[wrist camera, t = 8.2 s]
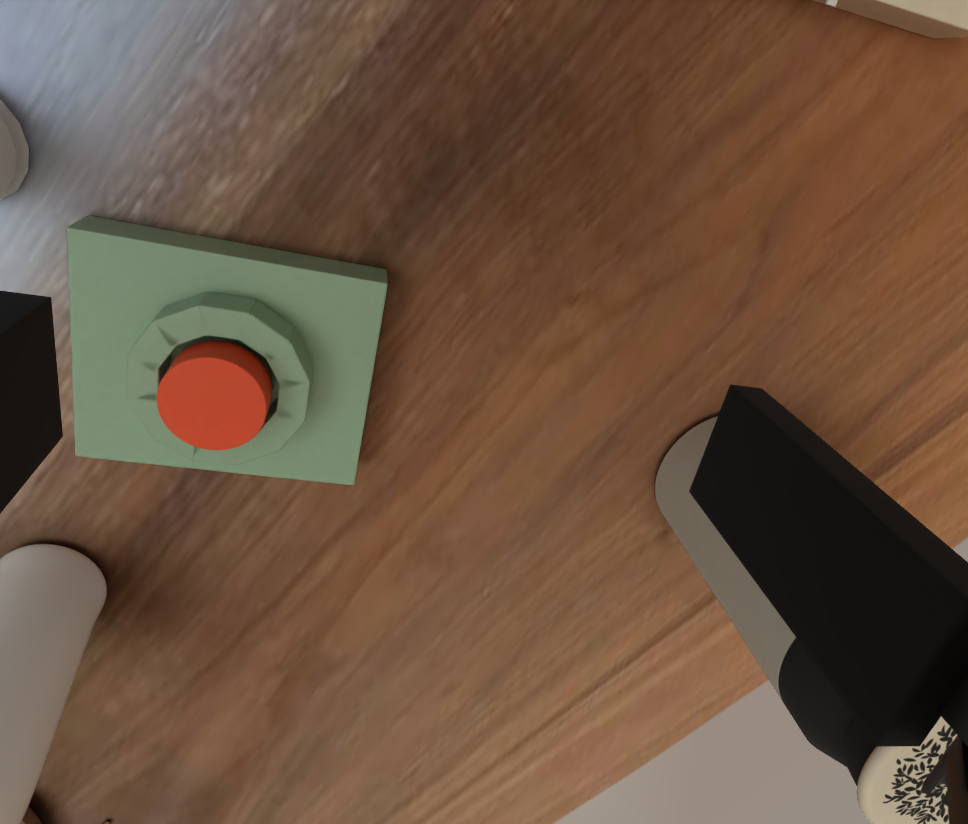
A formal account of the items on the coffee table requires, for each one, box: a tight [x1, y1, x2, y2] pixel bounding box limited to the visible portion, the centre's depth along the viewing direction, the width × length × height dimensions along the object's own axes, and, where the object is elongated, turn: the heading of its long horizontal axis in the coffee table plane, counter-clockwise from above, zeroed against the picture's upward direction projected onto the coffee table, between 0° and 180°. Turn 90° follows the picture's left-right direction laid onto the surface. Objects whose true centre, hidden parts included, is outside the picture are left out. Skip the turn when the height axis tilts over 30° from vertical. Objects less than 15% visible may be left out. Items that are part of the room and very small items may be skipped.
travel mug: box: [655, 416, 957, 824], centre depth 30 cm, size 8×8×18 cm
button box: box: [67, 216, 388, 485], centre depth 29 cm, size 12×10×4 cm
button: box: [157, 341, 272, 450], centre depth 27 cm, size 4×4×2 cm
